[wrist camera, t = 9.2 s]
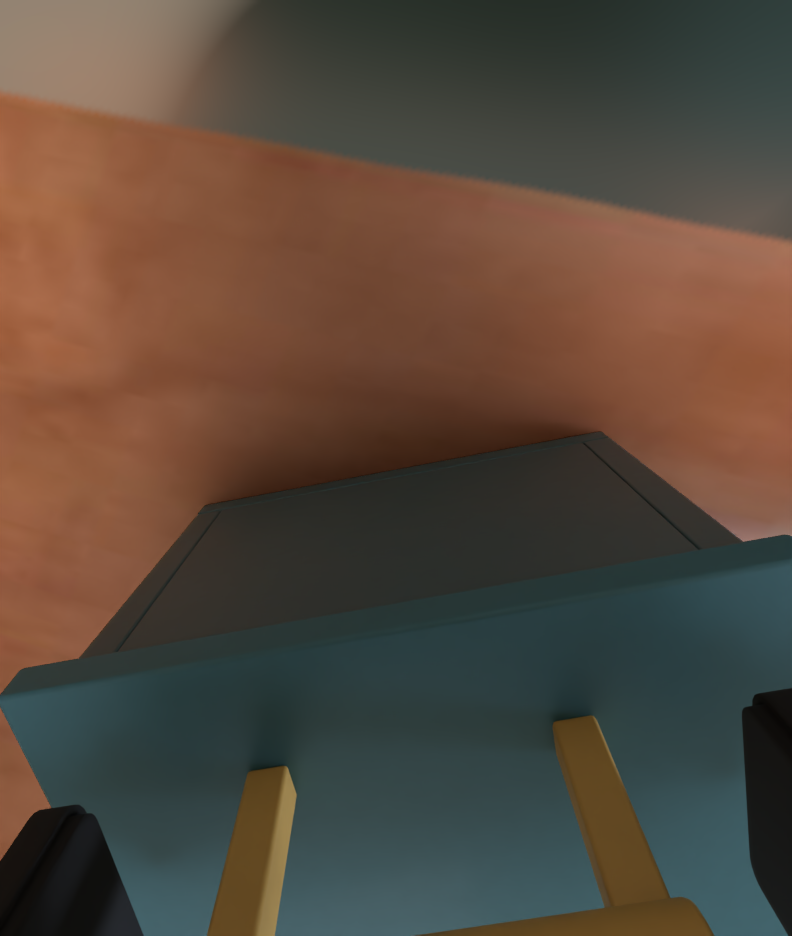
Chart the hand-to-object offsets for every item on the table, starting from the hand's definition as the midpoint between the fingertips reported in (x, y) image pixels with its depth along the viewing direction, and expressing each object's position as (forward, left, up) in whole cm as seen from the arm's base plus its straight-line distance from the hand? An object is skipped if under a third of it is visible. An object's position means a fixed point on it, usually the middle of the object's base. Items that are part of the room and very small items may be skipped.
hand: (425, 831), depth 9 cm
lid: (+2, +5, -3) cm, 6 cm away
